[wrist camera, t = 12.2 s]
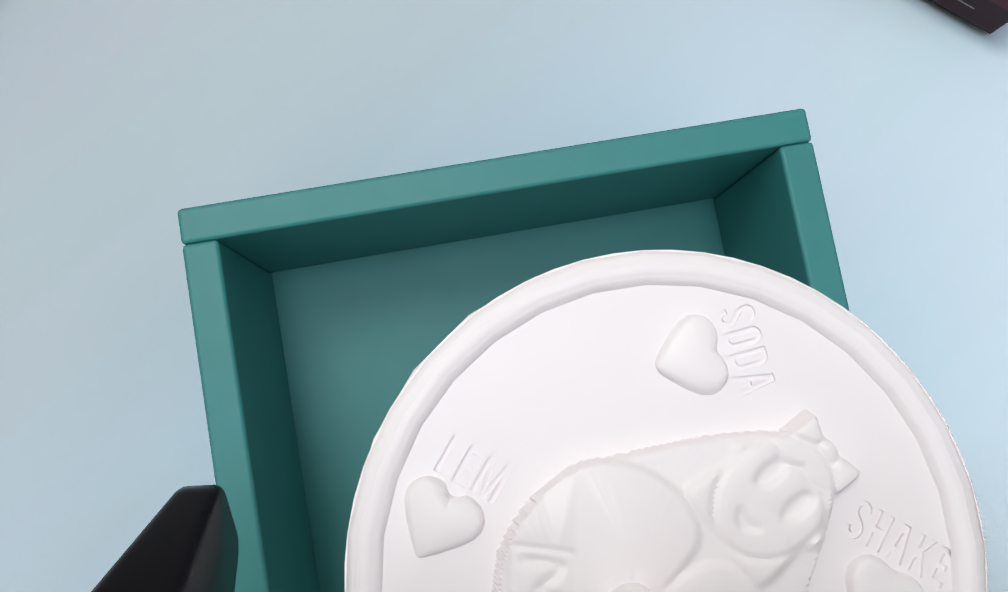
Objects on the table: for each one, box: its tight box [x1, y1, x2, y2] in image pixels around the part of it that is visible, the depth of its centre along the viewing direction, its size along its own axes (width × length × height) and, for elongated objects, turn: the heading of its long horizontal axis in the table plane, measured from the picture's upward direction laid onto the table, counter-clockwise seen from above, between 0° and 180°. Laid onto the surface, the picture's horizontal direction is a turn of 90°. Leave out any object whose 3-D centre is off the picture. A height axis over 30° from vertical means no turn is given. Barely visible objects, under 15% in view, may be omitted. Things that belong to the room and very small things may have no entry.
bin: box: [178, 109, 849, 592], centre depth 16 cm, size 13×11×4 cm
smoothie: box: [344, 250, 988, 592], centre depth 11 cm, size 6×6×14 cm
